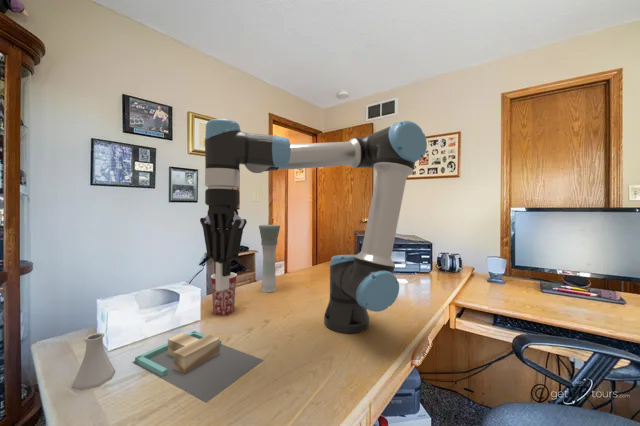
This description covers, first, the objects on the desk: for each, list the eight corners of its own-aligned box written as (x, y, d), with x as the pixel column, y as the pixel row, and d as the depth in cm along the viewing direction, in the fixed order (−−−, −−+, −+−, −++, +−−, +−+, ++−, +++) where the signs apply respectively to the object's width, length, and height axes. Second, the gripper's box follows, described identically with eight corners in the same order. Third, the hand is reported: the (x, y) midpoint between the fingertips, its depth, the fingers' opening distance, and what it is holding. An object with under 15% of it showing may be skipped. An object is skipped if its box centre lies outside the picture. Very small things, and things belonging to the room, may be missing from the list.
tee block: (219, 353, 71) (219, 338, 70) (184, 373, 62) (184, 356, 62) (192, 342, 76) (192, 328, 76) (156, 360, 67) (156, 344, 67)
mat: (263, 361, 68) (263, 355, 68) (206, 404, 53) (206, 396, 53) (193, 335, 81) (193, 329, 81) (131, 363, 66) (131, 357, 66)
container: (262, 286, 130) (263, 224, 130) (281, 287, 129) (282, 225, 128) (255, 292, 121) (255, 225, 120) (275, 294, 120) (276, 226, 119)
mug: (236, 315, 96) (237, 277, 96) (209, 317, 94) (209, 279, 93) (236, 302, 108) (236, 269, 108) (212, 304, 106) (212, 270, 105)
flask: (89, 371, 63) (89, 329, 63) (122, 370, 63) (122, 328, 63) (62, 393, 56) (62, 345, 55) (100, 391, 56) (100, 344, 56)
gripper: (255, 189, 63) (254, 289, 64) (216, 190, 69) (216, 281, 70) (230, 187, 57) (230, 298, 57) (189, 188, 63) (190, 289, 63)
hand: (222, 289), depth 64 cm, fingers closed
